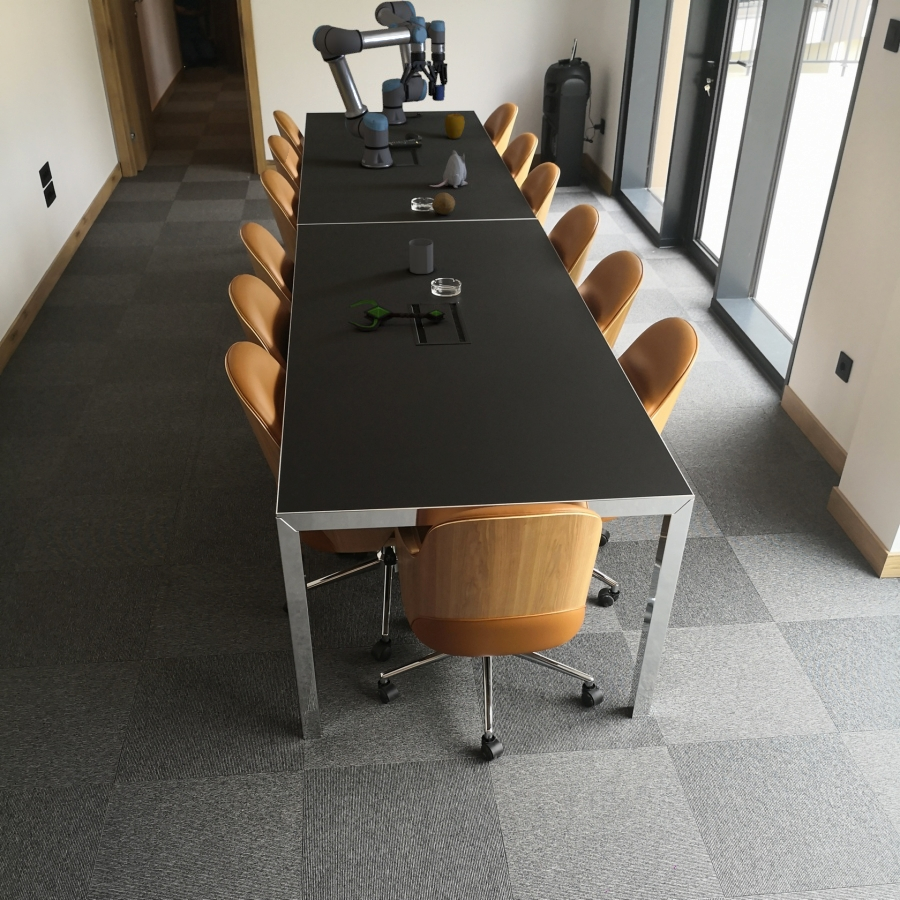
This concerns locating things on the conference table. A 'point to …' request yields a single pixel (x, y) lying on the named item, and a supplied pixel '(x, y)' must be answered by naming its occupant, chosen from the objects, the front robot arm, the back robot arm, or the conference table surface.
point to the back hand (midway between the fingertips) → (438, 98)
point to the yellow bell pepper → (454, 125)
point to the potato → (443, 203)
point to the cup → (421, 256)
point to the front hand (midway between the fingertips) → (418, 97)
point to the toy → (454, 171)
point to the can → (440, 93)
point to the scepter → (391, 315)
